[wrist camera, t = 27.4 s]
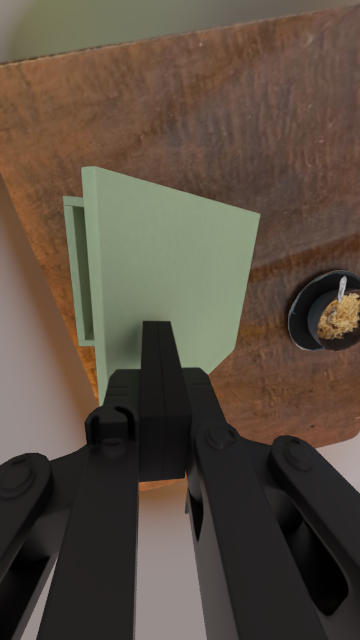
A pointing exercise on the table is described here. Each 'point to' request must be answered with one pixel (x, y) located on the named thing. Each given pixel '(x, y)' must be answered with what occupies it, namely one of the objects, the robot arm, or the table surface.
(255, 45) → the table surface
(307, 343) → the soup bowl
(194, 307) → the chest lid
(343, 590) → the robot arm
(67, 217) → the chest
